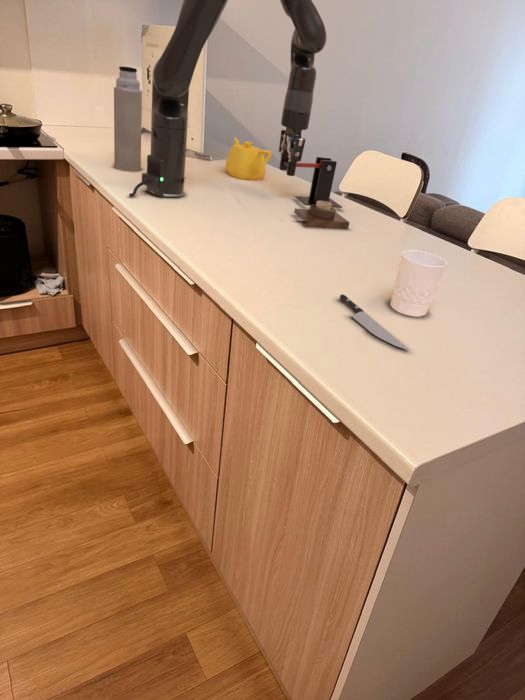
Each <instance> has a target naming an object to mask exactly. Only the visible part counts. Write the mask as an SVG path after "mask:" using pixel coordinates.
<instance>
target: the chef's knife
mask: <svg viewBox="0 0 525 700" xmlns="http://www.w3.org/2000/svg"><path fill="white" fill-rule="evenodd" d="M339 299H340V301H342V302H343V303H346V304H347V305H348V306H349V307H350V308H351V309H352V310H353V311H354V312H355V313H354V314H352V315H351V317H352V318H353V320H355V321H356V322H358V323H359V324H360V325H361V326H363V328H364V329H366V330H367V331H368V332H370V333H371V334H372V335H374V336H375V337H377V338H379V339H381V340H383V341H385V342H386V343H388V344H391V345H393V346H395V347H398V348H400V349H404V350H407V351H408V348H407V347H406V346H405V345H404V344H403V343H402V342H401V341H400V340H399V339H397V338H396V337H395V336H393V334H391V332H389V331H388V330H387V329H386V328H384V327H383V326H382V325H381V324H379V322H377V321H376V319H374V318H372V316H370V315H369V314H368V313H366V311H364V310H363V309H362V308H361V307H359V306H358V305H357V304H356V303H355V302H354V301H352V300H351V299H350V298H349V297H348V296H347V295H346V294H344V293H343V294H342V293H341V294H340V295H339Z"/></svg>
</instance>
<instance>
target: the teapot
mask: <svg viewBox="0 0 525 700" xmlns="http://www.w3.org/2000/svg"><path fill="white" fill-rule="evenodd" d="M233 141H234V144H232V146H231V149H230V150H229V152H228V154H227V158H226V161H225V170H226V172H227V174H228V175H230V176H232V177H234V178H236V179H241V180H251V181H252V180H254V181H257V180H259V181H260V180H262V179H263V178H264V177H265V175H266V164H267V163H268V162H269V160H270V159H271V157H272V151H271V150H269V149H262V148H259V147H257V146H254V145H253V144H254V143H253V142H252V141H244V142H243V144H240V140H239V139H238V137H234V138H233ZM264 154H265V155H264Z"/></svg>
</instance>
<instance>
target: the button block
mask: <svg viewBox="0 0 525 700" xmlns="http://www.w3.org/2000/svg"><path fill="white" fill-rule="evenodd" d="M293 213H294V214H296V215H297V216H298V217H299V219H301V220H299V222H300V223H301V224H302V225H303V226H304V227H305V228H312V229H313V228H314V229H330V230H331V229H332V230H349V226H350V221H349V220H347V219H346V218H344V217H343V216H342V215H341V214H339V213H338V212H337V209H336V207H331V210H321V209H318V208H316V204H311V206H309V209H308V208H296V207H295V208H294V211H293Z"/></svg>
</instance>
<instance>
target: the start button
mask: <svg viewBox="0 0 525 700" xmlns="http://www.w3.org/2000/svg"><path fill="white" fill-rule="evenodd" d="M331 205H332V204H331V203H330V202H327V201H317V203H316V208H318V209H321V210H331Z"/></svg>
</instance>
